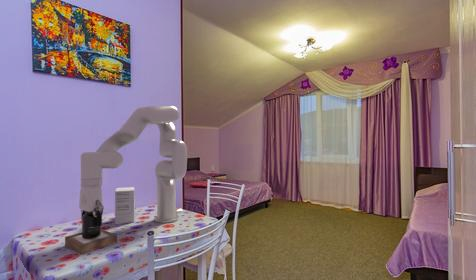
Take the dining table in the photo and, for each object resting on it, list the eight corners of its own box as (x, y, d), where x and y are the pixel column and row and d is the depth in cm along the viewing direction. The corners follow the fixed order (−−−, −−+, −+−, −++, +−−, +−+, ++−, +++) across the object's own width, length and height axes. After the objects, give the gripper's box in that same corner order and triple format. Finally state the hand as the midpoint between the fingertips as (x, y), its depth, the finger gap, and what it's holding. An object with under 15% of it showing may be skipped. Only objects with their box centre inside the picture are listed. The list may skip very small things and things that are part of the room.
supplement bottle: (92, 239, 102) (92, 209, 102) (77, 238, 103) (77, 208, 103) (104, 233, 109) (104, 205, 109) (90, 232, 110) (90, 204, 110)
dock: (100, 235, 116) (100, 227, 116) (117, 242, 108) (117, 233, 108) (65, 245, 104) (65, 236, 104) (81, 254, 96) (81, 245, 96)
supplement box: (116, 219, 139) (116, 187, 139) (134, 217, 142) (134, 186, 142) (114, 224, 130) (114, 191, 130) (134, 222, 133) (134, 189, 133)
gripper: (71, 181, 108) (72, 222, 108) (92, 185, 98) (92, 231, 98) (90, 179, 114) (90, 217, 114) (111, 183, 104) (111, 225, 104)
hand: (91, 223), depth 106 cm, fingers open, 9 cm apart
